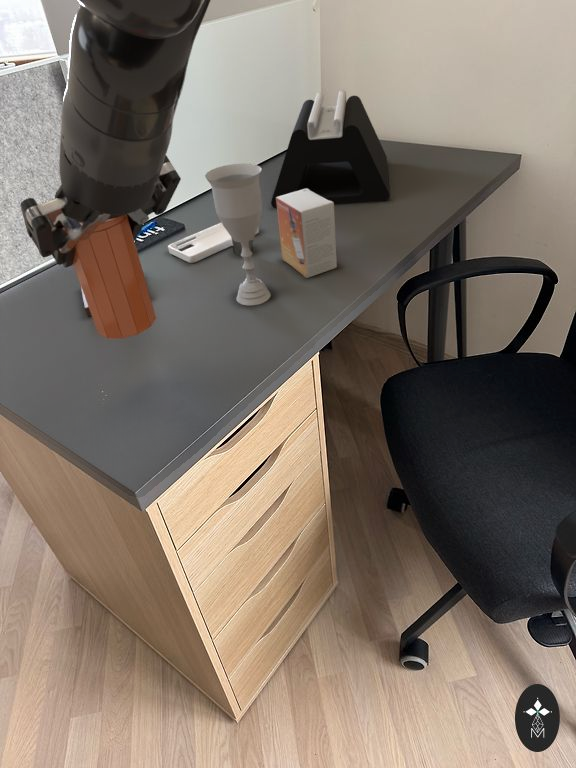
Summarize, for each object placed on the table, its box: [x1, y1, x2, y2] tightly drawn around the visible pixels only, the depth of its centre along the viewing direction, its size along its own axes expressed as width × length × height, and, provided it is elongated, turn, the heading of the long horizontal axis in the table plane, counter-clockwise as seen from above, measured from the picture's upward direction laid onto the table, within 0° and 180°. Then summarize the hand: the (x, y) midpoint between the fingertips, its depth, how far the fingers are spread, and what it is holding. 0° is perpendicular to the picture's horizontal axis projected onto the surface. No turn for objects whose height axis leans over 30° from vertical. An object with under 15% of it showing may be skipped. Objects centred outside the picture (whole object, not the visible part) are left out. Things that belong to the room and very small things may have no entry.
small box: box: [276, 188, 338, 279], centre depth 86 cm, size 8×6×10 cm
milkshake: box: [229, 234, 254, 257], centre depth 92 cm, size 4×5×10 cm
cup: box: [63, 214, 157, 339], centre depth 57 cm, size 6×6×12 cm
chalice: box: [204, 163, 272, 306], centre depth 78 cm, size 7×7×18 cm
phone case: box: [167, 222, 260, 264], centre depth 99 cm, size 7×1×15 cm
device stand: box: [270, 89, 391, 209], centre depth 112 cm, size 22×22×15 cm
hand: (95, 246), depth 57 cm, fingers closed on cup, 6 cm apart
